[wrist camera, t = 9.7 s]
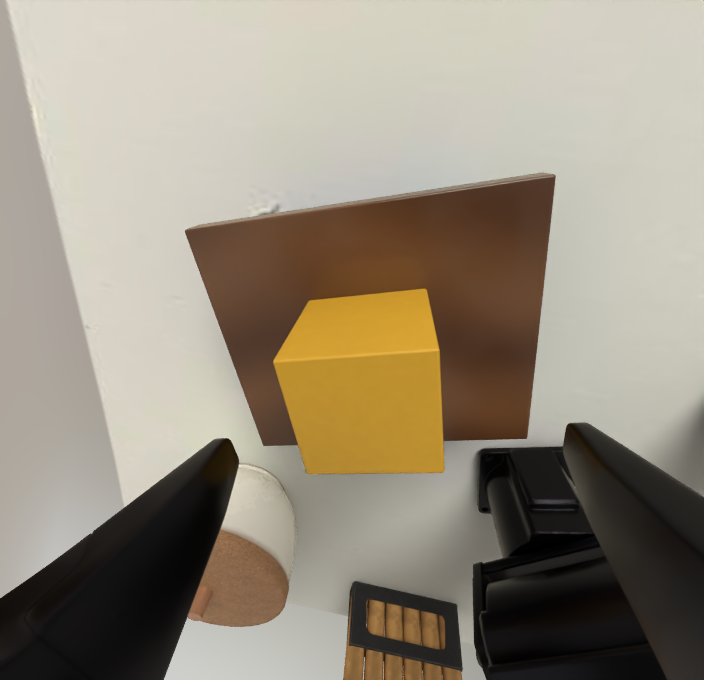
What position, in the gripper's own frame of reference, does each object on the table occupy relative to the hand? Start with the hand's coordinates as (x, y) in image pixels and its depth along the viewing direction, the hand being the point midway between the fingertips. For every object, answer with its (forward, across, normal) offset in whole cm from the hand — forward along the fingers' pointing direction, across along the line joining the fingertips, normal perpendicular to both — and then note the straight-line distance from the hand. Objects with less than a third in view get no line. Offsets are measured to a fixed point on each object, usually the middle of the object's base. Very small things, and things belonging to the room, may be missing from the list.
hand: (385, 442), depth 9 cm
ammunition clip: (+12, +2, +33) cm, 35 cm away
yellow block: (+7, +1, +1) cm, 7 cm away
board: (+8, +1, +1) cm, 8 cm away
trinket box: (+12, +14, +16) cm, 25 cm away
